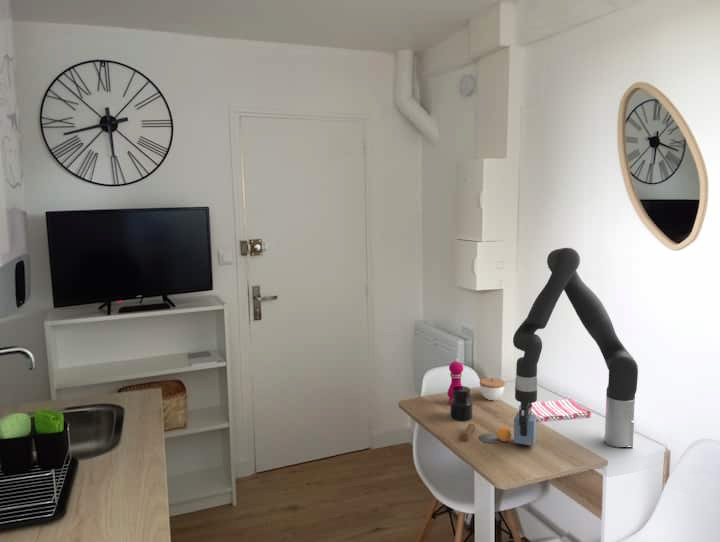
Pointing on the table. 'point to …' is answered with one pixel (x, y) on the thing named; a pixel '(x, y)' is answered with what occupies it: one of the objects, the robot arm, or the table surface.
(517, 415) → the blue gray block
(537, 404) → the dish towel
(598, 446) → the table surface
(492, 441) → the gray ellipsoid
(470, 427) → the strip
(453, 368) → the pepper mill
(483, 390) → the lidded jar
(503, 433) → the ball
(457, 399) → the ink bottle
